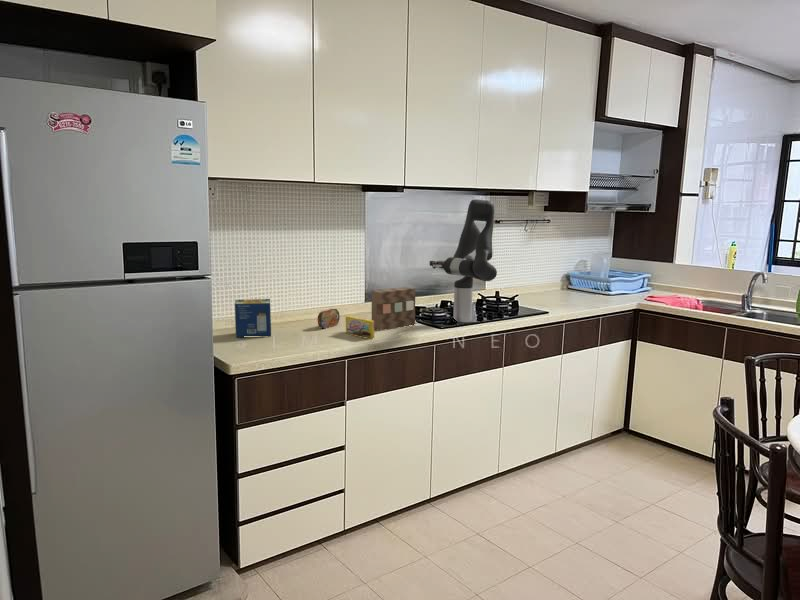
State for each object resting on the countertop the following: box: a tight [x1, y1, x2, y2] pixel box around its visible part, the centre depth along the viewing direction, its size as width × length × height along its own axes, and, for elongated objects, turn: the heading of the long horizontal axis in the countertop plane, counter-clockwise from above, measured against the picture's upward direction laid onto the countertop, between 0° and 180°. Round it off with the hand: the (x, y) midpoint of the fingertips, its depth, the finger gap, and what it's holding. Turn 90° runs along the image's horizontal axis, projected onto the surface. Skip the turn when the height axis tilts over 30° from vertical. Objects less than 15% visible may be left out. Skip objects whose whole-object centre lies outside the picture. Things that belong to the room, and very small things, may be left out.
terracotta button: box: [382, 303, 391, 314], centre depth 276 cm, size 4×3×4 cm
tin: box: [317, 308, 341, 330], centre depth 282 cm, size 15×3×8 cm, turn 151°
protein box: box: [234, 298, 272, 338], centre depth 263 cm, size 10×15×16 cm
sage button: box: [394, 302, 402, 312], centre depth 281 cm, size 4×3×4 cm
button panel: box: [371, 286, 416, 331], centre depth 283 cm, size 21×7×18 cm, turn 128°
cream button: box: [406, 300, 414, 311], centre depth 285 cm, size 4×3×4 cm
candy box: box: [345, 315, 375, 340], centre depth 263 cm, size 16×2×8 cm, turn 50°
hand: (430, 263), depth 268 cm, fingers closed
